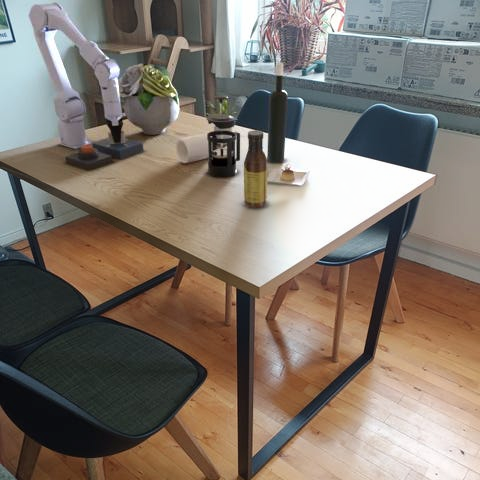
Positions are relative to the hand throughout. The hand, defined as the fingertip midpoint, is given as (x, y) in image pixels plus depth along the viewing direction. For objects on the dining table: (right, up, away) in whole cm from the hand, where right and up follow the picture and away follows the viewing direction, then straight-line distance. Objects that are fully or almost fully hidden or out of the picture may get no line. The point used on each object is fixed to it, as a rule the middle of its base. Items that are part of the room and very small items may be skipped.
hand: (117, 141), depth 174 cm
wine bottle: (+56, -8, -5) cm, 56 cm away
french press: (+38, -15, -14) cm, 44 cm away
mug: (+27, -8, -4) cm, 28 cm away
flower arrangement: (+9, +11, +22) cm, 26 cm away
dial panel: (0, -3, +2) cm, 3 cm away
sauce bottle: (+48, -31, -35) cm, 67 cm away
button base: (-8, -10, -7) cm, 15 cm away
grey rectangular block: (0, 0, 0) cm, 0 cm away
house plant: (+36, +4, +12) cm, 38 cm away
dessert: (+58, -19, -19) cm, 64 cm away
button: (-8, -7, -10) cm, 14 cm away
